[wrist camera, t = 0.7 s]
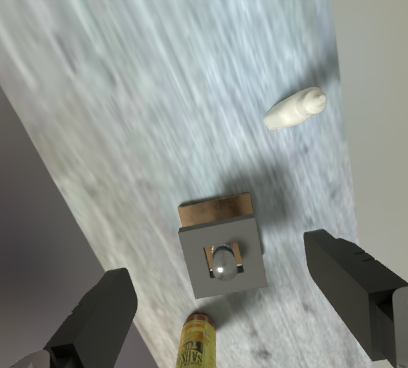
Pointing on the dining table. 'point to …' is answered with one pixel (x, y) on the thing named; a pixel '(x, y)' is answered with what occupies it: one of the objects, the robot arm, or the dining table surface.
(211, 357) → the sauce bottle
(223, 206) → the bronze plate with post
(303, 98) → the eye dropper bottle
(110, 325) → the robot arm
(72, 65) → the dining table surface
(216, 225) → the collar
